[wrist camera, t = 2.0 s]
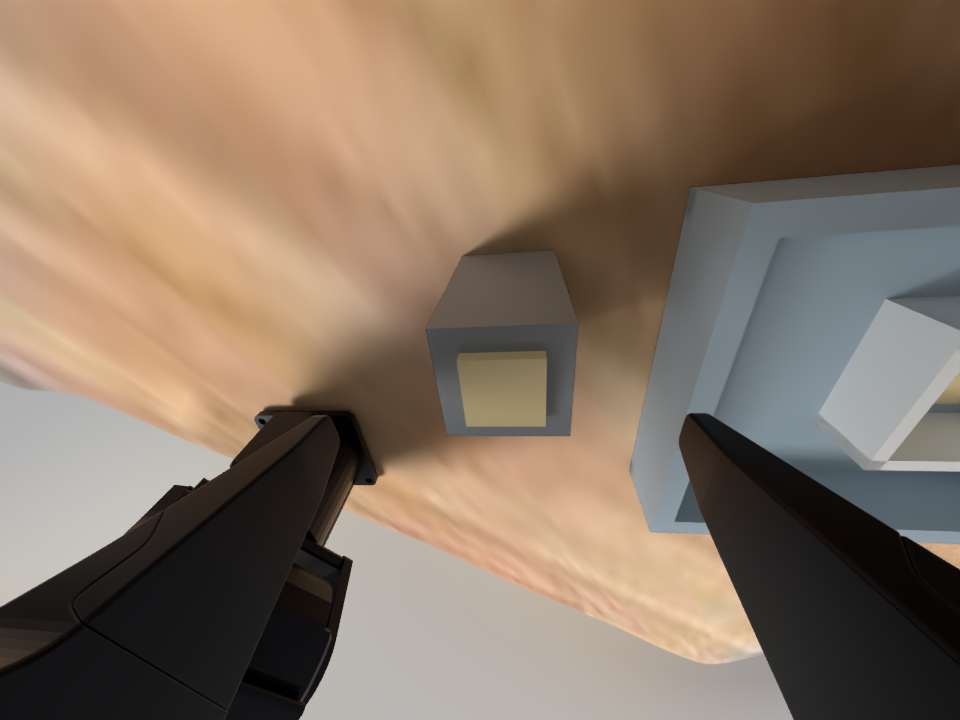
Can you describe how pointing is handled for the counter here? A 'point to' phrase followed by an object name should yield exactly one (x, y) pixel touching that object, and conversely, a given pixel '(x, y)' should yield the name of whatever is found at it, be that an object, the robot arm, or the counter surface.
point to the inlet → (901, 389)
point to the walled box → (795, 331)
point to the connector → (505, 347)
